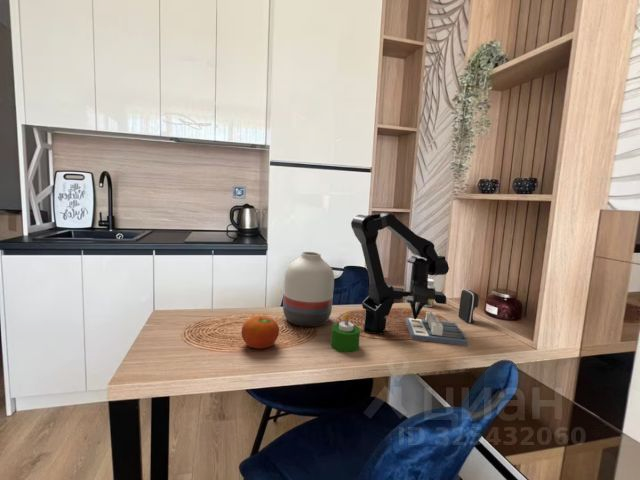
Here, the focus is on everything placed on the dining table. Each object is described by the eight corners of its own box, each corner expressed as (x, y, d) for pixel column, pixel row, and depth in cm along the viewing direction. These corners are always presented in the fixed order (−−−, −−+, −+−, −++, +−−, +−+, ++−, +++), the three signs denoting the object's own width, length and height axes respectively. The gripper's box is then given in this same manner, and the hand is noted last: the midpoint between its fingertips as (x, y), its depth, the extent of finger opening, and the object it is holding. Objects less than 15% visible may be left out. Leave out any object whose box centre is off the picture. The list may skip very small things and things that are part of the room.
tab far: (426, 323, 123) (427, 314, 123) (425, 320, 126) (426, 311, 126) (435, 324, 123) (436, 315, 123) (433, 320, 126) (434, 312, 125)
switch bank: (411, 339, 113) (412, 333, 113) (405, 321, 129) (406, 316, 128) (466, 345, 111) (467, 339, 111) (453, 326, 127) (454, 321, 127)
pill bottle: (424, 302, 154) (427, 277, 152) (436, 306, 149) (439, 280, 147) (414, 303, 151) (417, 278, 149) (426, 308, 145) (429, 282, 144)
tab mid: (429, 328, 118) (430, 319, 118) (427, 325, 121) (428, 316, 121) (438, 329, 118) (439, 320, 118) (436, 326, 121) (437, 317, 121)
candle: (326, 341, 107) (328, 310, 105) (350, 338, 110) (352, 308, 109) (338, 354, 99) (340, 320, 98) (363, 350, 103) (366, 317, 101)
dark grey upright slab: (477, 323, 131) (481, 294, 130) (467, 323, 131) (471, 293, 129) (466, 316, 138) (470, 288, 137) (457, 316, 138) (461, 288, 136)
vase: (313, 334, 111) (318, 260, 108) (271, 320, 120) (275, 252, 117) (339, 319, 126) (345, 254, 122) (300, 308, 134) (304, 247, 131)
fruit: (236, 340, 103) (237, 314, 102) (269, 335, 109) (270, 310, 107) (248, 356, 94) (249, 328, 93) (284, 350, 99) (285, 323, 98)
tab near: (432, 334, 113) (433, 325, 113) (430, 330, 116) (431, 321, 116) (442, 335, 113) (443, 326, 113) (440, 331, 116) (441, 322, 116)
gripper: (394, 279, 116) (389, 324, 118) (453, 284, 114) (447, 330, 116) (391, 271, 127) (387, 313, 129) (445, 276, 125) (439, 318, 127)
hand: (414, 318), depth 125 cm, fingers closed
